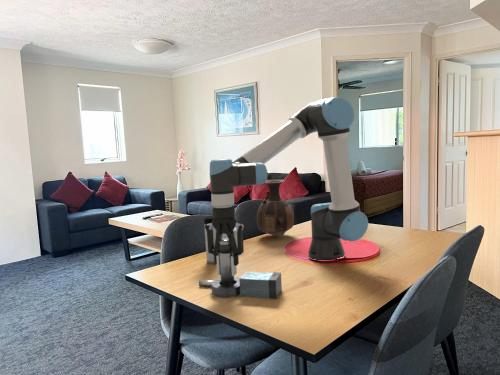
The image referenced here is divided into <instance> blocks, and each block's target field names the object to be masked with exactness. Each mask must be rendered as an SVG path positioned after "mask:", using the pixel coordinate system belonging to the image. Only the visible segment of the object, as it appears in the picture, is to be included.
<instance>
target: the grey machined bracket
mask: <svg viewBox="0 0 500 375" xmlns="http://www.w3.org/2000/svg"><path fill="white" fill-rule="evenodd" d="M198 286H200V287H211V293H212V296H215V297H217V298H223V299H224V298H235V297H246V298H256V299H257V298H258V299H259V298H260V299H271V300H277V299H278V298H279V296H280V294H281V293H282V291H283V289H282V272H280V271H279V272H275V271H274V272H265V271H264V272H263V271H247V270H245V272H243V274H242V275H241V276H240V277H239V276H234V285H230V286H222V285H221V277H219V278H216V279H214V280H208V279H207V280H206V279H200V280H199V281H198Z"/></svg>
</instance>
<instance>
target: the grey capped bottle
mask: <svg viewBox="0 0 500 375" xmlns="http://www.w3.org/2000/svg"><path fill="white" fill-rule="evenodd" d="M218 246H219V258H220V275H219V276H220V278H221V285H222V286H230V285H234V277H235V276H232V268H231V256H233V253H232V250H231V246H230V243H229V239H228V238H224V239H221V240H219V244H218Z"/></svg>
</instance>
